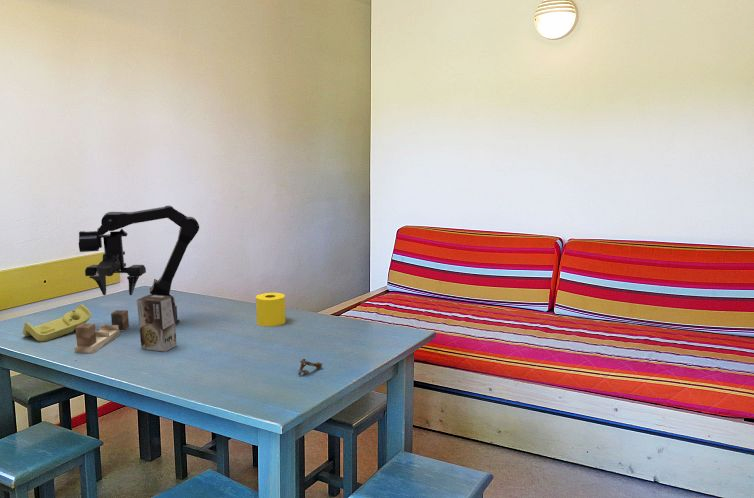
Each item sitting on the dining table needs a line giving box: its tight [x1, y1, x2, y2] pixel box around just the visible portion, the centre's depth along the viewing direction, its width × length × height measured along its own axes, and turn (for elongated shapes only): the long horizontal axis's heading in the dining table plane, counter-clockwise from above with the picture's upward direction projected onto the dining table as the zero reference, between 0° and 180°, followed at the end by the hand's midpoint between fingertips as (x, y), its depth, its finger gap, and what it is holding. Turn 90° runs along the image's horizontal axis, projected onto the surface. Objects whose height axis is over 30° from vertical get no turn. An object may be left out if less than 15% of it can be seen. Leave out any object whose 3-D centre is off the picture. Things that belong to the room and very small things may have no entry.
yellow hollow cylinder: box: [255, 292, 286, 327], centre depth 221 cm, size 10×10×9 cm
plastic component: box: [22, 304, 92, 342], centre depth 212 cm, size 20×7×10 cm
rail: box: [73, 323, 121, 354], centre depth 199 cm, size 6×17×8 cm, turn 176°
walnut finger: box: [110, 309, 130, 331], centre depth 215 cm, size 4×5×6 cm
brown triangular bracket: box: [297, 358, 323, 376], centre depth 175 cm, size 2×8×4 cm, turn 139°
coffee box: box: [136, 294, 178, 352], centre depth 195 cm, size 9×6×16 cm
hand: (117, 295), depth 213 cm, fingers open, 9 cm apart
